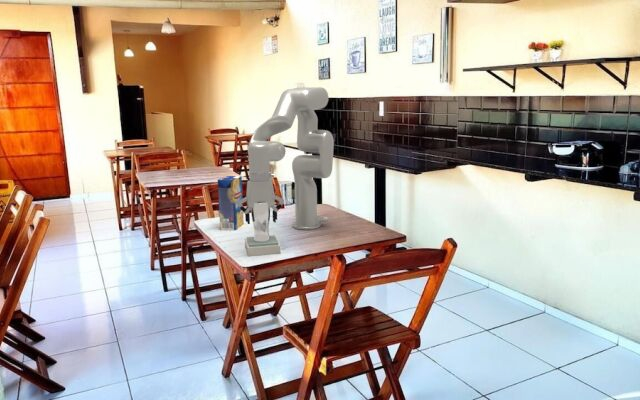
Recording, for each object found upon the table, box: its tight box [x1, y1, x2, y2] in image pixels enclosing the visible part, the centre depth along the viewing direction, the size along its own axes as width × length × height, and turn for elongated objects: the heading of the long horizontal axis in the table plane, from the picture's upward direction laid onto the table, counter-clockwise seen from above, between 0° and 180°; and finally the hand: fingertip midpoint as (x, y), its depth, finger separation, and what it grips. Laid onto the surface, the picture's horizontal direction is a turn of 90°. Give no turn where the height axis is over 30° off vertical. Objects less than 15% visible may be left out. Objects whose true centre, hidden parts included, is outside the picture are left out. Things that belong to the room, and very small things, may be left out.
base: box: [244, 234, 282, 257], centre depth 198 cm, size 12×12×4 cm
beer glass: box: [250, 202, 271, 242], centre depth 196 cm, size 7×7×15 cm
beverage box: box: [217, 175, 245, 231], centre depth 231 cm, size 7×11×22 cm, turn 168°
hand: (261, 222), depth 196 cm, fingers open, 9 cm apart
